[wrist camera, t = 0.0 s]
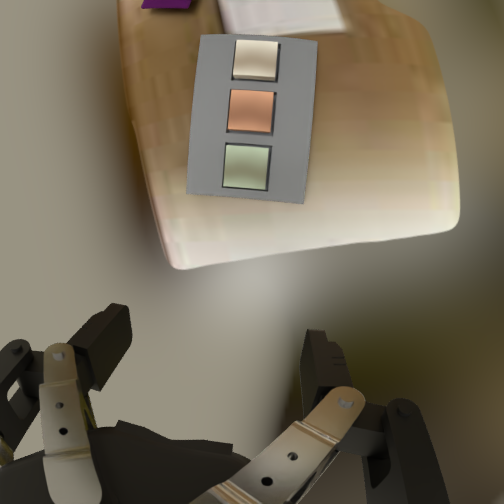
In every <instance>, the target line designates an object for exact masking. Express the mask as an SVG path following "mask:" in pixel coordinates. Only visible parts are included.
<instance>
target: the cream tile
mask: <svg viewBox="0 0 504 504" xmlns="http://www.w3.org/2000/svg"><path fill="white" fill-rule="evenodd" d="M277 49H278V42H272V41H257V40H237V42H236V51H235V60H234V69H233V76H234V78H235V79H253V80H267V81H275V72H276V60H277Z"/></svg>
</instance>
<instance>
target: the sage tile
mask: <svg viewBox="0 0 504 504" xmlns="http://www.w3.org/2000/svg"><path fill="white" fill-rule="evenodd" d="M268 152H269V148H260V147H247V146H233V145H226V156H225V169H224V183H223V186H229V187H241V188H253V189H263V190H265V184H266V173H267V163H268Z"/></svg>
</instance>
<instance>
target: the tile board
mask: <svg viewBox="0 0 504 504" xmlns="http://www.w3.org/2000/svg"><path fill="white" fill-rule="evenodd" d="M237 40H257V41H272V42H278V49H277V60H276V72H275V81H267V80H253V79H235V78H234V76H233V69H234V60H235V51H236V42H237ZM317 42H318V41H312V40H305V39H297V38H288V37H277V36H264V35H242V34H210V35H201V39H200V46H199V54H198V61H197V69H196V77H195V86H194V96H193V105H192V116H191V128H190V140H189V154H188V171H187V190H186V194H196V195H210V196H224V197H236V198H247V199H258V200H268V201H278V202H287V203H296V204H304V197H305V188H306V179H307V170H308V160H309V150H310V140H311V129H312V118H313V105H314V92H315V78H316V61H317ZM231 90H251V91H265V92H274V95H273V107H272V118H271V129H270V133H262V132H249V131H234V130H229V129H228V120H229V109H230V99H231ZM226 145H233V146H247V147H260V148H269V152H268V163H267V173H266V184H265V190H263V189H253V188H241V187H229V186H223V183H224V169H225V156H226Z"/></svg>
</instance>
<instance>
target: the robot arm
mask: <svg viewBox="0 0 504 504" xmlns="http://www.w3.org/2000/svg"><path fill="white" fill-rule="evenodd" d="M131 342H132V328H131V321H130V313H129V308H128V307H127V306H126V305H121V304H115V303H111V304H110V305H109V306H108V307H107V308H106V309H105V310H104V311H101V312H99V313H97V314H95V315H93V316H92V317H91V318H90V319H89V320H88V321H87V323H85V324H84V325H83V326H82V328H80V329H79V330H78V331H77V332H76V333H75V335H73V336H72V338H71V339H70V340H69V341H68V342H67V343H55V344H52V345H50V346H49V347H48V348H47V349H46V350H45V351H44V352H42V351H41V352H40V351H32V350H31V347H30V344H29V343H28V342H27V341H26V340H23V339H17V340H13V341H11V342H9V343H8V344H7V345H6V346H5V347H4V348H3V349H2V350H1V351H0V504H297V503H298V502H299V501H300V500H301V499H302V498H303V497H304V496H305V495H306V493H307V492H308V491H309V490H310V488H311V487H312V486H313V484H314V483H315V482H316V481H317V479H318V478H319V477H320V476H321V475H322V473H323V472H324V471H325V470H326V468H327V467H328V466H329V465H330V463H331V462H332V461H333V459H334V458H335V457H336V456H337V454H338V453H339V451H343V452H348V453H352V454H357V455H361V458H362V464H363V473H364V481H365V490H366V499H367V504H450V502H449V498H448V494H447V490H446V487H445V483H444V480H443V477H442V473H441V470H440V467H439V464H438V460H437V457H436V454H435V451H434V448H433V445H432V442H431V440H430V436H429V433H428V431H427V428H426V425H425V422H424V420H423V417H422V414H421V412H420V409H419V407H418V406H417V405H416V404H415V403H414V402H412V401H411V400H408V399H405V398H396V399H393V400H391V401H390V402H389V403H388V405H387V406H382V405H377V404H372V403H369V402H366V401H365V398H364V396H363V395H362V394H361V393H360V392H359V391H358V390H356V389H354V387H353V384H352V381H351V377H350V374H349V370H348V367H347V366H346V360H345V359H344V354H343V351H342V349H341V348H340V346H339V345H338V344H337V343H336V342H328V340H327V337H326V333H325V330H317V329H307V331H306V335H305V339H304V344H303V349H302V353H301V358H300V379H301V390H302V400H303V412H304V420H303V421H302V422H300V421H295V422H294V423H293V424H292V425H291V426H290V427H289V428H288V429H286V431H284V432H283V433H282V434H281V435H280V436H279V437H278V438H277V439H276V440H275V441H274V442H273V443H271V444H270V445H269V446H268V447H267V448H266V449H265V450H264V451H262V452H261V453H260V454H259V455H258V456H257V457H255V458H254V459H253V460H252V461H251V460H250V459H248V458H246V457H244V456H242V455H240V454H237V453H234V452H232V449H233V444H229V443H221V442H214V441H208V440H171V439H168V438H166V437H163V436H161V435H159V434H157V433H155V432H153V431H151V430H149V429H147V428H145V427H142V426H138V425H135V424H131V423H128V422H124V421H121V420H118V422H117V424H116V426H115V427H100V428H98V427H97V424H96V420H95V417H94V413H93V409H92V405H91V401H90V397H89V394H88V392H89V390H90V389H93V390H96V391H101V390H102V388H103V387H104V385H105V383H106V382H107V380H108V379H109V377H110V376H111V374H112V373H113V371H114V370H115V368H116V367H117V365H118V363H119V362H120V360H121V359H122V357H123V356H124V354H125V353H126V351H127V350H128V348H129V347H130V345H131ZM16 380H17V382H18V384H19V386H20V387H19V389H18V390H17V391H16V393H15V394H14V395H13V397H12V398H11V399H10V401H8V399H7V392H8V390H9V389H10V387H11V386H12V385H13V384H14V382H15V381H16ZM39 411H40V414H41V425H42V434H43V442H44V450H42V451H39V452H36V453H34V454H31V455H28V456H25V457H23V458H20V459H17V460H14V452H15V450H16V448H17V446H18V445H19V443H20V441H21V440H22V438H23V436H24V435H25V433H26V431H27V430H28V428H29V427H30V425H31V423H32V422H33V420H34V419H35V417H36V416H37V414H38V412H39Z"/></svg>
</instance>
